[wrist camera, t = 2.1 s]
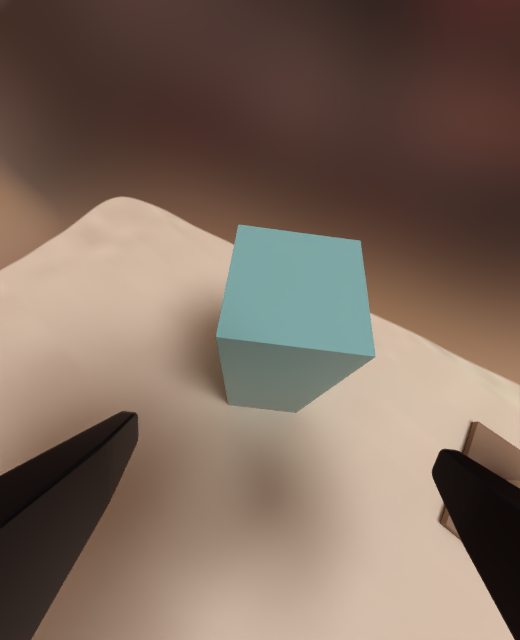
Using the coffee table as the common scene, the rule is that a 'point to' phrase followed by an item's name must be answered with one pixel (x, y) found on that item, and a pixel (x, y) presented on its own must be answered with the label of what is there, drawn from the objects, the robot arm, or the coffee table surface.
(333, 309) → the teal square pillar
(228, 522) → the coffee table surface
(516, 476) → the brown square base plate
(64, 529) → the robot arm
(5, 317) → the coffee table surface
